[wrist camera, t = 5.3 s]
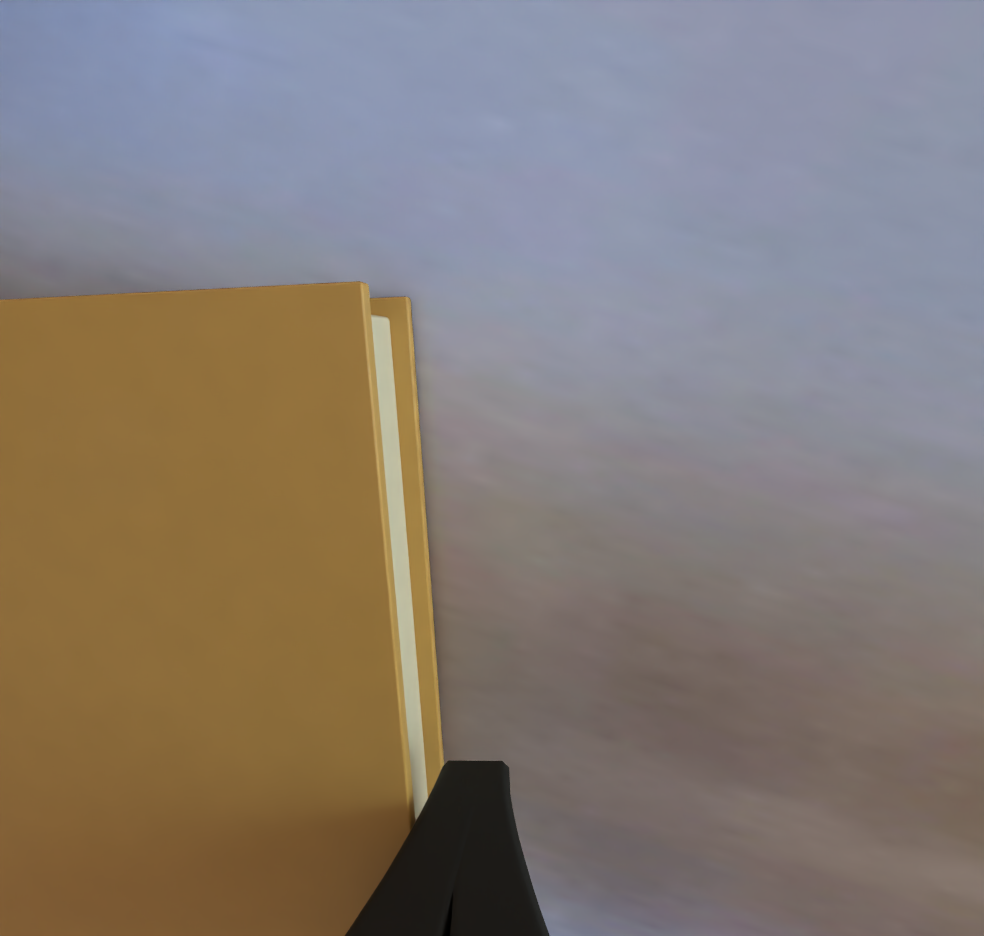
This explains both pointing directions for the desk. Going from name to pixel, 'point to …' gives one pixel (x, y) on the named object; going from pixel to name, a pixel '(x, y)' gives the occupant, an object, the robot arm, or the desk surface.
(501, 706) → the desk surface
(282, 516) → the book
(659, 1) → the desk surface
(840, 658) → the desk surface
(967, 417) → the desk surface
